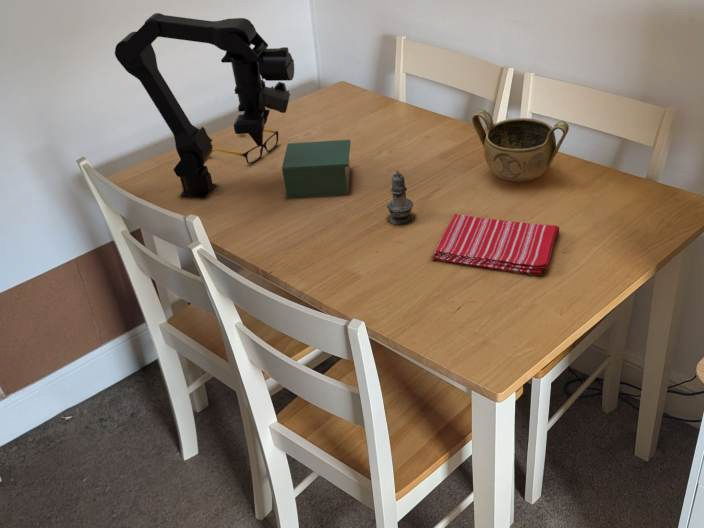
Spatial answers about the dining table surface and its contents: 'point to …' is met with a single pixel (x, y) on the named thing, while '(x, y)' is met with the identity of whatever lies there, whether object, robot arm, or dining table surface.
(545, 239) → the dish towel
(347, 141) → the lid
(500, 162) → the ceramic bowl
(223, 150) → the eyeglasses
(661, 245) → the dining table surface
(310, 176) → the tin
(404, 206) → the dark grey tall piece
